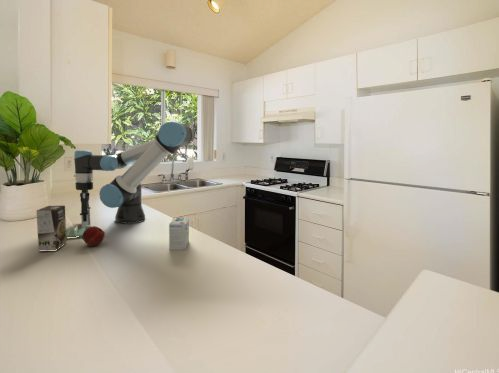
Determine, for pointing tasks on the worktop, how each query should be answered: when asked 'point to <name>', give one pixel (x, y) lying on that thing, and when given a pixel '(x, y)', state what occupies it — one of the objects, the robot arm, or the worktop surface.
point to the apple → (93, 236)
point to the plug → (88, 216)
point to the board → (76, 231)
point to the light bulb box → (178, 234)
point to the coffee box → (51, 227)
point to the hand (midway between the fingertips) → (85, 224)
